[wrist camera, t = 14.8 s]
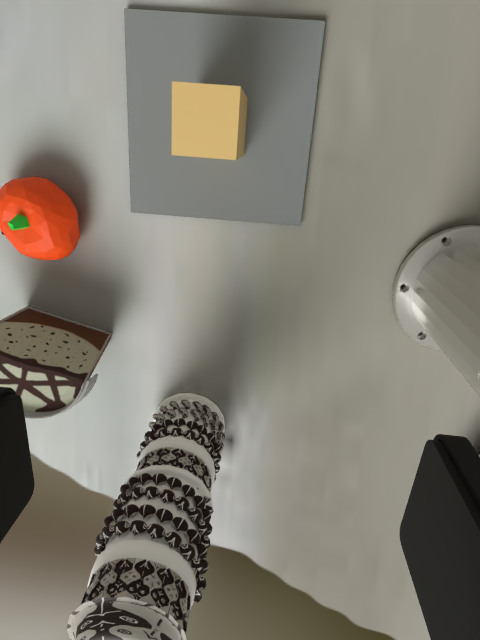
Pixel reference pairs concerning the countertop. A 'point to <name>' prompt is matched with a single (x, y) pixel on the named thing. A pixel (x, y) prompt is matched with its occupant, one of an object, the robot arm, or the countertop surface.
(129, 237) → the countertop surface
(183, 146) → the ochre block
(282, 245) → the countertop surface
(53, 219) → the pumpkin
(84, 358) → the food container
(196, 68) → the grey mat
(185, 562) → the decorative candle
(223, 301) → the countertop surface
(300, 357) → the countertop surface
